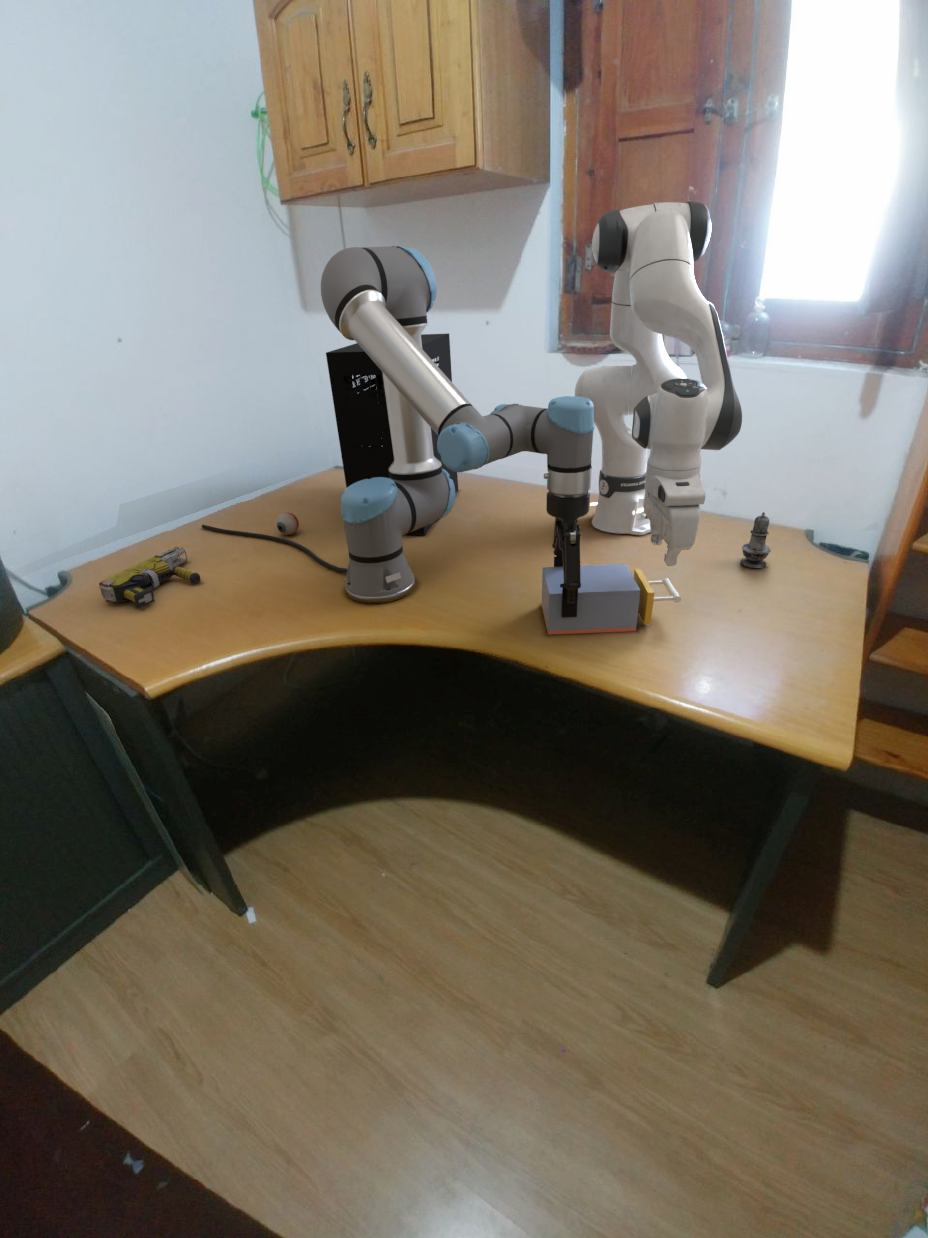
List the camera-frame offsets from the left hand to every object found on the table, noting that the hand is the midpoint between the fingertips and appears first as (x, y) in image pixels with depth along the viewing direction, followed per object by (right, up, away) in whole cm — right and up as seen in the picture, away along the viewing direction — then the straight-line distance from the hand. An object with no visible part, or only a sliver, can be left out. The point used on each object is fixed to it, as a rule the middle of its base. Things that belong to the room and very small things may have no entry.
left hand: (564, 600), depth 116 cm
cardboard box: (-35, +29, +61) cm, 76 cm away
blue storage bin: (+5, -3, +2) cm, 6 cm away
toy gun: (-89, +4, +25) cm, 92 cm away
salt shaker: (+45, +9, +19) cm, 50 cm away
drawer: (+11, -2, +1) cm, 11 cm away
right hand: (+17, +9, -5) cm, 20 cm away
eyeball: (-67, +20, +49) cm, 85 cm away
